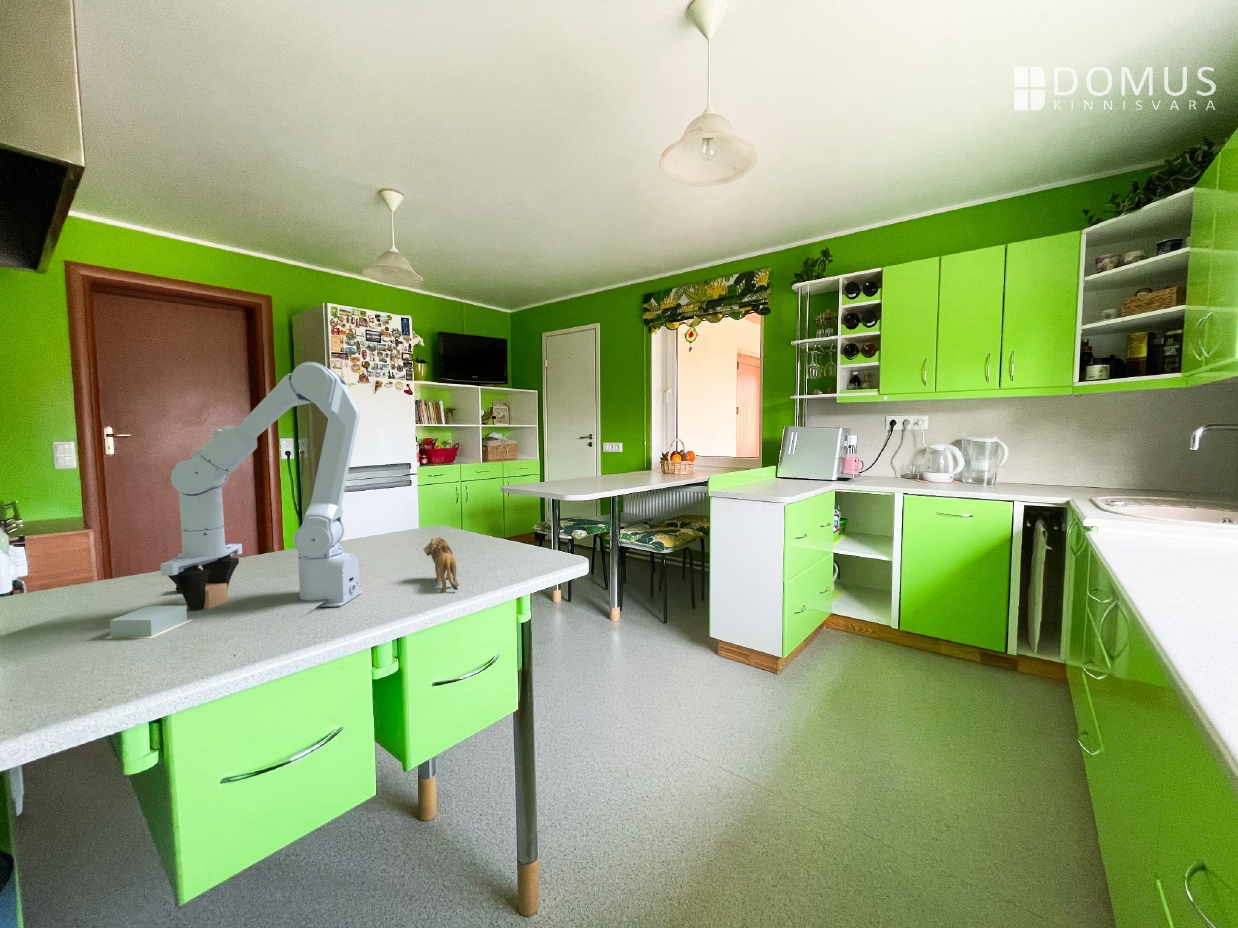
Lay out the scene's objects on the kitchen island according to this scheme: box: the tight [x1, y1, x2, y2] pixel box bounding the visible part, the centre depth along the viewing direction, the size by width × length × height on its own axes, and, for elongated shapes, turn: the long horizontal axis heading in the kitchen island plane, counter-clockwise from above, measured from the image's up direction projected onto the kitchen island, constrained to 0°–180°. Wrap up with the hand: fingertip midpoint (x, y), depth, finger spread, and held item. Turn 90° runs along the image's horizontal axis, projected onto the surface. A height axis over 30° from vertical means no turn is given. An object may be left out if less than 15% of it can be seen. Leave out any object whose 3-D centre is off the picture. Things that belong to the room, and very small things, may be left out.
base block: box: [109, 605, 188, 637], centre depth 74 cm, size 6×6×2 cm
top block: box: [185, 583, 229, 610], centre depth 85 cm, size 4×4×4 cm
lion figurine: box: [423, 536, 460, 593], centre depth 101 cm, size 15×5×9 cm, turn 38°
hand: (207, 603), depth 85 cm, fingers closed on top block, 4 cm apart
